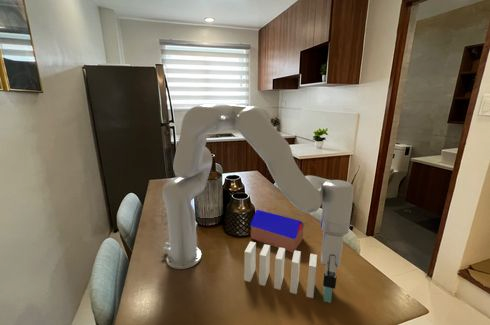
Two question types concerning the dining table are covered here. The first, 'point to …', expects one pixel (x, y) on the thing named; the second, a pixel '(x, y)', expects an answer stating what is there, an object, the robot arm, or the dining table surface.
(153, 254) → the dining table surface
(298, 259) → the domino
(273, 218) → the house
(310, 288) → the domino
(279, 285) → the domino
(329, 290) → the domino
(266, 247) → the domino
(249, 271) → the domino
